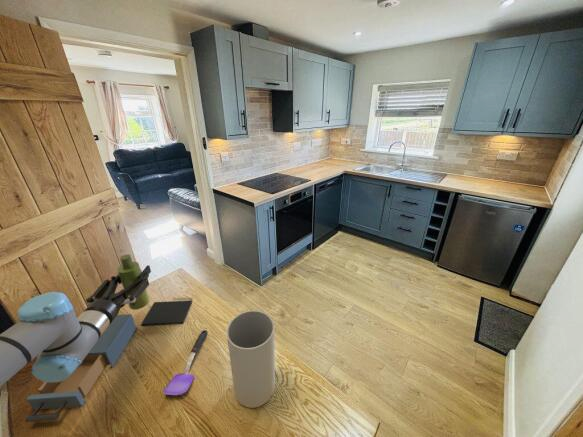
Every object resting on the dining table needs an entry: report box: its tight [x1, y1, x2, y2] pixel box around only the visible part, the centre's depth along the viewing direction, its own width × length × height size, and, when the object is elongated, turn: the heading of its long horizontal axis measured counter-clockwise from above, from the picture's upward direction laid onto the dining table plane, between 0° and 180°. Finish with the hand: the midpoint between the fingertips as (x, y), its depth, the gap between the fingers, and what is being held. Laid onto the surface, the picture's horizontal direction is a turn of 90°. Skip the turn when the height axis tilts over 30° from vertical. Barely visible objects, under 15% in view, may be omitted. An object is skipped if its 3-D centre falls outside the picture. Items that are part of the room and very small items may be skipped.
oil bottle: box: [116, 254, 150, 311], centre depth 82 cm, size 6×6×20 cm
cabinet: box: [87, 313, 137, 369], centre depth 83 cm, size 16×14×8 cm
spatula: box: [162, 329, 208, 396], centre depth 80 cm, size 24×7×2 cm, turn 176°
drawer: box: [25, 354, 108, 423], centre depth 70 cm, size 19×12×6 cm, turn 5°
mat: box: [140, 300, 193, 327], centre depth 99 cm, size 16×12×1 cm
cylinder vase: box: [226, 310, 276, 409], centre depth 69 cm, size 12×12×25 cm
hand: (139, 268), depth 86 cm, fingers closed on oil bottle, 6 cm apart
